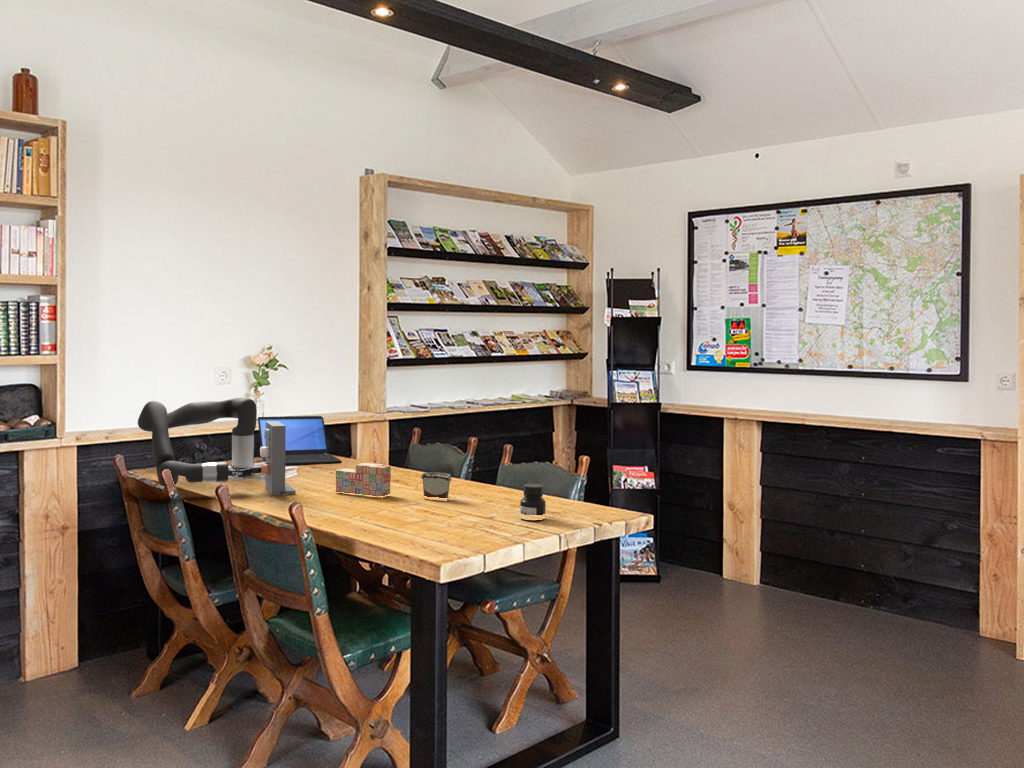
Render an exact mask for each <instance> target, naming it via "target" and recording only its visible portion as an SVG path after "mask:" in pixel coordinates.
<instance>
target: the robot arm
mask: <svg viewBox="0 0 1024 768" xmlns="http://www.w3.org/2000/svg"><path fill="white" fill-rule="evenodd" d="M257 411H258V408H257V405H256V402H255V400H253V399H251V398H247V397H234V398H230V399H226V400H220V401H215V400H214V401H196V402H195V401H193V402H189V403H187V404H185V405H182V406H180V407H178V408H177V409H175V410H173V411H170V412H168V411H167V408H166V406H165V405H164V404H163V403H161V402H159V401H155V400H152V401H149V402H147V403H145V404H144V406H143V408H142V409H141V412H140V414H139V416H138V419H137V425H138V427H139V429H141V430H142V431H145V432H149V433H150V432H151V451H152V455H153V458H154V463H155V465H156V475H157V480H158V483H159V485H161V486H162V487H163V486H164V483H163V481H162V478H161V473H162V471H163V470H164V469H169V470H170V471H171V474H172V478H173V481H174V484H175V486H177V484H178V482H179V476H180V477H184V478H185V481H187V482H188V483H222V482H228V481H229V477H230V476H231V477H233V478H241V477H247V476H251V475H254V474H261V467H260V466H255V430H256V427H257V418H258V417H257V416H258V415H257ZM218 419H237V424H236V426H234V427H233V428H232V430H231V466H229V465H228V462H227V461H218V462H217V461H215V462H204V463H188V462H183V461H177V460H175V455H174V454H175V453H174V451H173V448H172V444H171V439H170V433H169V432H170V431H169V429H172V428H178V427H186V426H190V425H191V426H193V425H196V426H197V425H202V424H207V423H211V422H212V423H213V422H214V421H215V420H218ZM253 473H254V474H253ZM250 474H251V475H250Z"/></svg>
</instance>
